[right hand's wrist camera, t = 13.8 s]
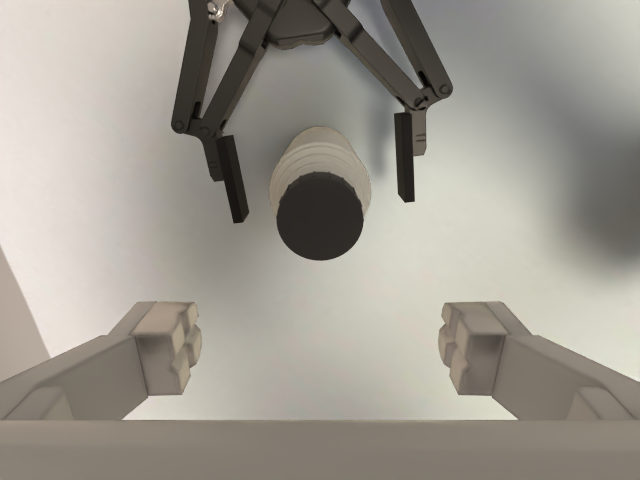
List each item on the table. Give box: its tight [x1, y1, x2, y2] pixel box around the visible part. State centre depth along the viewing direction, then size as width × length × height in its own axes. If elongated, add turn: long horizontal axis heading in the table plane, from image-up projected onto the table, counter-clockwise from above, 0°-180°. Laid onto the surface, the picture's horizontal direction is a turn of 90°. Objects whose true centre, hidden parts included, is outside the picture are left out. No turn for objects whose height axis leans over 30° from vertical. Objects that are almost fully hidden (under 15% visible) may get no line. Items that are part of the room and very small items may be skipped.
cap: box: [276, 171, 364, 261], centre depth 19 cm, size 4×4×2 cm
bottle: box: [269, 127, 371, 218], centre depth 27 cm, size 7×7×17 cm
